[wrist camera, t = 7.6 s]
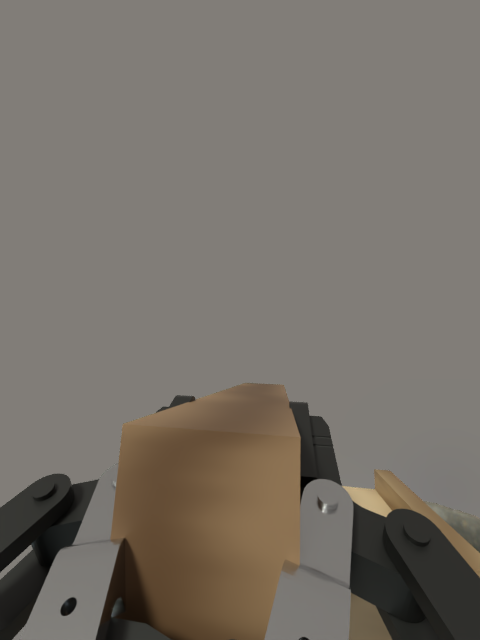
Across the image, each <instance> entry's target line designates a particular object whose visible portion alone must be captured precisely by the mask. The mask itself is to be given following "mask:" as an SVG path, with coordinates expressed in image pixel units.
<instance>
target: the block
mask: <svg viewBox="0 0 480 640" xmlns="http://www.w3.org/2000/svg"><path fill="white" fill-rule="evenodd" d="M300 441H301V437H300V434H299V431H298V428H297V425H296V422H295V419H294V415H293V412H292V409H290V408H289V400H288V397H287V394H286V390H285V387H284V385H274V384H254V383H244V384H241V385H238V386H235V387H232V388H229V389H226V390H223V391H220V392H217V393H214V394H211V395H208V396H205V397H202V398H199V399H196V400H195V401H192V402H187V403H184V404H181V405H178V406H175V407H172V408H169V409H166V410H163V411H160V412H157V413H154V414H151V415H148V416H145V417H142V418H139V419H136V420H133V421H131V422H127V423H124V424H123V428H122V437H121V447H120V455H119V464H118V474H117V483H116V492H115V501H114V510H113V520H112V529H111V538H110V540H112V539H119V538H125V583H126V612H124V613H122V614H120V615H117V616H115V617H113V618H118V619H123V620H129V621H135V622H140V623H146V624H148V625H149V626H151V627H152V628H154V629H156V630H157V631H159V632H160V633H162V634H163V635H165V636H167V637H168V638H170V639H171V640H229V639H235V640H264V639H265V635H266V631H267V627H268V623H269V619H270V614H271V610H272V606H273V602H274V598H275V594H276V590H277V586H278V582H279V578H280V574H281V570H282V566H283V563H284V561H285V559H286V560H289V561H291V562H293V563H295V564H298V565H300Z"/></svg>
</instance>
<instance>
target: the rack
mask: <svg viewBox="0 0 480 640" xmlns="http://www.w3.org/2000/svg"><path fill="white" fill-rule="evenodd" d="M374 473H375V489H365V488H356V487H345V486H342V487H343V488H344V489H345V490H346V491H347V492H348V493H349V495H350V497H351V499H352V500H353V501H354V502H355V503H357V504H358V505H359V506H361V507H363V508H365V509H367V510H370V511H372V512H375V513H377V514H380V515H382V516H385V517H387V515H388V514H389V513H390V512H391V511H393V510H395V509H409V510H413V511H415V512H418V513H420V514H422V515H423V516H425V517H427V518H428V519H429V520H431V521H432V522H433V523H434V524H435V525H436V526H437V527H438V528H439V529H440V530H441V532H442V533H443V534H444V535H445V536H446V538H447V539H448V540H449V541H450V542H451V544H452V545H453V546H454V547H455V549H456V550H457V551H458V552H459V553H460V555H461V556H462V557H463V558H464V559H465V561H466V562H467V563H468V564H469V565H470V567H471V568H472V569H473V570H474V571H475V573H476V574H477V575H478V576H479V577H480V553H479V552H478V551H477V550H476V549H475V548H474V547H473V546H472V545H470V544H469V543H468V542H467V541H466V540H465V539H464V538H463V537H462V536H461V535H460V534H458V533H457V532H456V531H455V530H454V529H453V528H452V527H451V526H450V525H449V524H448V523H446V522H445V521H444V520H443V519H442V518H441V517H440V516H439V515H438V514H437V513H436V512H434V511H433V510H432V509H431V508H430V507H429V506H428V505H427V504H426V503H425V502H423V501H422V500H421V499H420V498H419V497H418V496H417V495H416V494H415V493H414V492H412V491H411V490H410V489H409V488H408V487H407V486H406V485H405V484H404V483H403V482H402V481H401V480H399V479H398V478H397V477H396V476H395V475H394V474H393V473H392V472H391V471H386V470H374ZM349 640H392V638H391V636H390V634H389V632H388V630H387V628H386V626H385V624H384V622H383V620H382V618H381V616H380V614H379V612H378V610H377V608H376V606H375V605H373V604H371V603H369V602H367V601H365V600H364V599H362V598H360V597H358V596H356V595H354V594H352V593H351V604H350V626H349Z"/></svg>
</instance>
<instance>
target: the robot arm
mask: <svg viewBox="0 0 480 640" xmlns="http://www.w3.org/2000/svg"><path fill="white" fill-rule="evenodd" d="M192 401H195V397H194V396H180V395H177V396H176V397H175V398H174V400H173V401H172V403H171V405H170V406H169V407H162V408H161V409H160V410H158V411H157V412H160V411H163V410H166V409H169V408H172V407H175V406H178V405H181V404H184V403H187V402H192ZM289 408H290V409H292V412H293V415H294V419H295V422H296V425H297V428H298V431H299V434H300V437H301V441H300V565H298V564H295V563H293V562H291V561H289V560H286V559H285V561H284V563H283V566H282V570H281V574H280V578H279V582H278V586H277V590H276V594H275V598H274V602H273V606H272V610H271V614H270V619H269V623H268V627H267V631H266V635H265V639H264V640H349V626H350V604H351V593H352V594H354V595H356V596H358V597H360V598H362V599H364V600H365V601H367V602H369V603H371V604H373V605H375V606H376V608H377V610H378V612H379V614H380V616H381V618H382V620H383V622H384V624H385V626H386V628H387V630H388V632H389V634H390V636H391V638H392V640H480V577H479V576H478V575H477V574H476V573H475V571H474V570H473V569H472V568H471V567H470V565H469V564H468V563H467V562H466V561H465V559H464V558H463V557H462V556H461V555H460V553H459V552H458V551H457V550H456V549H455V547H454V546H453V545H452V544H451V542H450V541H449V540H448V539H447V538H446V536H445V535H444V534H443V533H442V532H441V530H440V529H439V528H438V527H437V526H436V525H435V524H434V523H433V522H432V521H431V520H429V519H428V518H427V517H425V516H423V515H422V514H420V513H418V512H415V511H413V510H409V509H395V510H393V511H391V512H390V513H389V514H388V515H387V517H385V516H382V515H380V514H377V513H375V512H372V511H370V510H367V509H365V508H363V507H361V506H359V505H358V504H357V503H355V502H354V501H353V500H352V499H351V497H350V495H349V493H348V492H347V491H346V490H345V489H344V488H343V487H342V484H341V481H340V476H339V472H338V467H337V462H336V458H335V453H334V449H333V444H332V440H331V435H330V430H329V426H328V425H327V424H326V422H325V421H324V420H323V418H322V417H319V416H309V410H308V404H307V403H303V402H289ZM157 412H156V413H157ZM118 464H119V463H118ZM118 464H115V465H113V466H112V467H110V468H109V469H107V470H106V471H105V472H104V473H103V474H102V476H101V477H100V479H98V480H94V481H89V482H84V483H78V484H73V485H72V484H71V481H70V479H69V477H68V476H67V475H64V474H52V475H49V476H46V477H43V478H41V479H39V480H37V481H36V482H35V483H33V484H31V485H30V486H29V487H27V488H26V489H25V490H24V491H22V492H21V493H19V494H18V495H17V496H15V497H14V498H13V499H11V500H10V501H9V502H7V503H6V504H5V505H3V506H2V507H1V508H0V572H1V571H2V570H3V569H4V568H5V567H6V566H8V565H9V564H10V563H11V562H12V561H13V560H14V559H15V558H16V557H17V556H19V555H20V554H21V553H22V552H23V551H24V550H25V549H26V548H27V547H28V546H29V545H32V548H33V550H32V551H31V552H30V553H29V554H28V555H27V556H25V557H24V558H23V559H22V560H21V561H20V562H19V563H18V564H17V565H16V566H15V567H14V568H13V569H12V570H10V571H9V572H8V573H7V574H6V575H5V576H4V577H3V578H2V579H1V580H0V640H12V639H13V638H14V637H15V635H16V634H17V633H18V632H19V631H20V630H21V629H22V628H23V627H24V626H25V624H26V626H25V628H24V630H23V633H22V635H21V637H20V639H19V640H171V639H170V638H168V637H167V636H165V635H163V634H162V633H160V632H159V631H157V630H156V629H154V628H152V627H151V626H149V625H148V624H146V623H140V622H135V621H129V620H123V619H118V618H113V617H115V616H117V615H120V614H122V613H124V612H126V583H125V538H119V539H112V540H110V538H111V529H112V520H113V510H114V501H115V492H116V483H117V474H118ZM229 640H235V639H229Z"/></svg>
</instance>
